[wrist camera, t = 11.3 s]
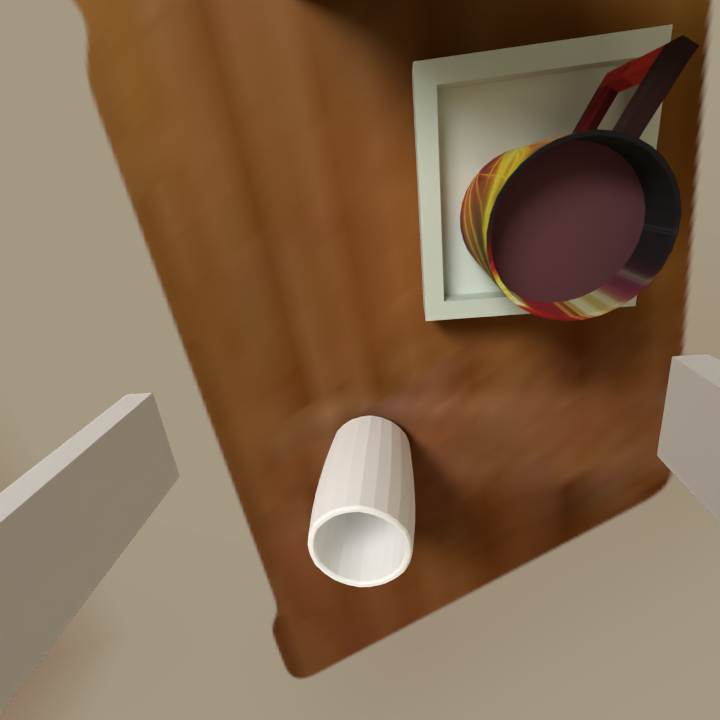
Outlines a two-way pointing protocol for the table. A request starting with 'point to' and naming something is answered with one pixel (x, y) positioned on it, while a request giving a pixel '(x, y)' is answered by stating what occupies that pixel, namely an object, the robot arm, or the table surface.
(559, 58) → the tray
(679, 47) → the mug
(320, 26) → the table surface
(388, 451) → the cup
